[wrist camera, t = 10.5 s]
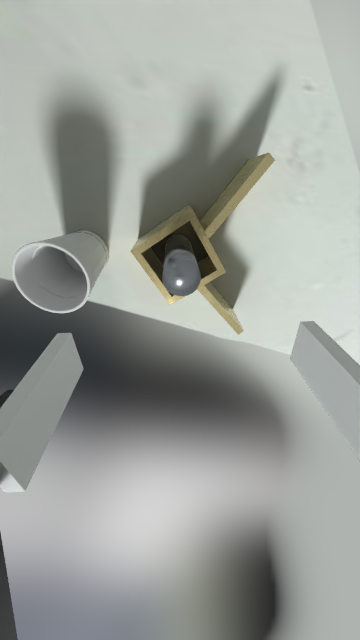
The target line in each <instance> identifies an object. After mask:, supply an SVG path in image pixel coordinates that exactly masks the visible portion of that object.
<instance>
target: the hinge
mask: <svg viewBox="0 0 360 640" xmlns="http://www.w3.org/2000/svg"><path fill="white" fill-rule="evenodd" d="M274 161H275V159H274V158H273V157H272V156H271V155H270V153H266V154H263V155H260V156H257V157H254V158H251V159H249V160H248V161H247V162H246V163H245V165H244V166H243V167H242V169H241V170H240V171H239V172H238V174H237V175H236V176H235V177H234V179H233V180H232V181H231V183H230V184H229V185H228V186H227V188H226V189H225V190H224V191H223V193H222V194H221V195H220V197H219V198H218V199H217V200H216V202H215V203H214V204H213V205H212V207H211V208H210V209H209V211H208V212H207V213H206V214H205V216H204V217H203V218H202V220H201V221H200V222H199V220H198V219H197V217H196V215H195V213H194V211H193V209H192V208H191V207H190V206H189V205H187V206H185V207H184V208H182V209H181V210H180V211H178V212H177V213H175V214H174V215H172V216H171V217H169V218H168V219H167V220H165V221H164V222H162V223H161V224H159V225H158V226H157V227H155V228H154V229H152V230H151V231H149V232H148V233H147V234H145V235H144V236H142V237H141V238H139V239H138V240H137V242H136V243H135V245H134V247H133V248H132V250H131V252H132V254H133V255H134V257H135V258H136V259H137V261H138V262H139V263H140V265H141V266H142V267H143V269H144V270H145V272H146V273H147V274H148V276H149V277H150V278H151V280H152V281H153V282H154V284H155V285H156V287H157V288H158V289H159V291H160V292H161V293H162V295H163V296H164V297H165V299H166V300H167V302H168V303H169V304H170V305H171V304H172V303H174V302H176V301H178V300H179V299H181V298H183V297H185V296H176V295H173V294H171V293H170V292H169V291H167V289H166V288H165V287H164V284H163V280H162V276H163V265H162V264H161V262H160V261H159V259H158V258H157V256H156V255H155V253H154V252H153V250H152V249H151V246H153V245H154V244H156V243H157V242H159V241H160V240H162V239H163V238H165V237H166V236H168V235H169V234H171V233H172V232H174V231H175V230H176V229H178V228H179V227H181V226H182V225H184V224H185V223H187V222H188V221H190V222H191V224H192V226H193V228H194V230H195V231H196V233H197V235H198V237H199V239H200V240H201V242H202V244H203V246H204V248H205V249H206V251H207V253H208V255H209V256H208V257H207V258H205V259H203V260H202V261H200V262H198V263H197V265H198V268H199V271H200V274H201V281H200V284H199V286H198V288H197V289H198V290H199V292H200V293H201V294H202V295H203V296H204V297H205V298H206V299H207V300H208V302H209V303H210V304H211V305H212V306H213V307H214V308H215V309H216V310H217V312H218V313H219V314H220V315H221V316H222V317H223V318H224V319H225V320H226V322H227V323H228V324H229V325H230V326H231V327H232V328H233V329H234V330H235V332H236V333H237V334H240V333H241V332H243V331H244V330H243V328H242V326H241V324H240V322H239V320H238V318H237V316H236V314H235V312H234V310H233V309H232V307H231V306H230V305H229V304H228V303H227V302H226V300H225V299H224V298H223V297H222V296H221V295H220V293H219V292H218V291H217V290H216V289H215V288H214V286H213V285H212V284H211V283H210V281H212V280H214V279H216V278H217V277H219V276H221V275H222V274H224V273H226V271H225V269H224V267H223V265H222V263H221V261H220V259H219V258H218V256H217V254H216V252H215V250H214V248H213V246H212V245H211V243H210V241H209V239H208V238H210V237H211V236H212V235H213V234H214V233H215V231H216V230H217V229H218V228H219V227H220V225H221V224H222V223H223V222H224V221H225V219H226V218H227V217H228V216H229V215H230V213H231V212H232V211H233V210H234V209H235V207H236V206H237V205H238V204H239V203H240V201H241V200H242V199H243V198H244V197H245V195H246V194H247V193H248V192H249V191H250V189H251V188H252V187H253V186H254V185H255V183H256V182H257V181H258V180H259V179H260V177H261V176H262V175H263V174H264V173H265V171H266V170H267V169H268V168H269V167H270V165H271V164H272V163H273V162H274ZM197 289H196V290H197Z"/></svg>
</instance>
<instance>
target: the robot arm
mask: <svg viewBox="0 0 360 640" xmlns="http://www.w3.org/2000/svg"><path fill="white" fill-rule="evenodd" d="M290 359H291V361H292V362H293V364H294V365H295V367H296V368H297V370H298V371H299V373H300V374H301V375H302V377H303V378H304V380H305V381H306V383H307V384H308V386H309V387H310V389H311V390H312V391H313V393H314V395H315V396H316V398H317V399H318V400H319V402H320V403H321V405H322V406H323V408H324V409H325V411H326V412H327V414H328V415H329V417H330V418H331V419H332V421H333V422H334V424H335V425H336V427H337V428H338V430H339V431H340V433H341V434H342V436H343V437H344V438H345V440H346V441H347V443H348V444H349V446H350V447H351V449H352V450H353V452H354V453H355V455H356V456H357V457H358V459H359V461H360V365H359V364H358V363H357V362H356V361H355V360H354V359H352V358H351V357H350V356H349V355H348V354H347V353H346V352H345V351H344V350H343V349H342V348H341V347H340V346H339V345H338V344H337V343H336V342H335V341H334V340H333V339H332V338H331V337H330V336H329V335H327V334H326V333H325V332H324V331H323V330H322V329H321V328H320V327H319V326H318V325H317V324H316V323H315V322H314V321H308V322H300V325H299V329H298V332H297V336H296V339H295V343H294V346H293V350H292V354H291V357H290ZM82 371H83V367H82V363H81V360H80V357H79V355H78V352H77V349H76V346H75V343H74V340H73V337H72V334H71V333H58V334H57V335H56V336H55V337H54V339H53V340H52V341H51V343H50V344H49V345H48V347H47V348H46V349H45V350H44V352H43V353H42V354H41V356H40V357H39V359H38V360H37V361H36V362H35V364H34V365H33V366H32V368H31V369H30V370H29V371H28V373H27V374H26V375H25V377H24V378H23V379H22V381H21V382H20V383H19V385H18V386H17V387H16V389H15V390H7V391H6V392H4V393H3V394H2V395H1V396H0V488H1V489H2V490H3V491H4V492H20V491H25V490H26V488H27V486H28V484H29V482H30V480H31V478H32V475H33V474H34V471H35V469H36V467H37V465H38V463H39V461H40V459H41V457H42V455H43V453H44V451H45V448H46V446H47V444H48V442H49V440H50V438H51V436H52V433H53V432H54V430H55V427H56V425H57V423H58V421H59V419H60V417H61V415H62V413H63V411H64V409H65V407H66V404H67V402H68V400H69V398H70V396H71V394H72V392H73V390H74V387H75V385H76V383H77V381H78V379H79V377H80V375H81V373H82ZM0 640H17V633H16V627H15V620H14V614H13V608H12V602H11V595H10V589H9V583H8V577H7V571H6V564H5V558H4V552H3V546H2V540H1V533H0Z"/></svg>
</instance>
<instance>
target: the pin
mask: <svg viewBox="0 0 360 640" xmlns="http://www.w3.org/2000/svg"><path fill="white" fill-rule="evenodd" d="M162 280H163V284H164V287H165V288H166V289H167V291H169V292H170V293H171V294H173V295H176V296H187V295H189V294H191V293H193V292H194V291H195V290H196V289H197V288H198V286H199V284H200V281H201V274H200V271H199V268H198V265H197V261H196V258H195V255H194V252H193V249H192V246H191V243H190V241H189V240H188V239H187V238H186V237H185V236H182V235H175V236H173V237H171V238H170V239H169V240H168V241H167V243H166V247H165V257H164V266H163V276H162Z"/></svg>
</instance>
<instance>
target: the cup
mask: <svg viewBox="0 0 360 640" xmlns="http://www.w3.org/2000/svg"><path fill="white" fill-rule="evenodd" d="M108 258H109V253H108V248H107V246H106V244H105V242H104V241H103V240H102V239H101V238H100V237H99V236H98V235H97V234H95V233H93V232H91V231H86V230H80V231H76V232H74V233H71V234H67V235H63V236H59V237H56V238H52V239H47V240H43V241H38V242H34V243H30V244H27V245H25V246H23V247H22V248H20V249H19V250H18V251H17V253H16V254H15V256H14V258H13V261H12V266H11V271H12V276H13V280H14V282H15V284H16V286H17V288H18V290H19V291H20V292H21V294H22V295H23V296H24V297H25V298H26V299H27V300H28V301H30V302H31V303H32V304H34V305H36V306H37V307H39V308H41V309H43V310H46V311H49V312H54V313H68V312H72V311H75V310H77V309H79V308H80V307H81V306H82V305H83V304H84V303H85V302H86V301H87V299H88V297H89V295H90V293H91V291H92V289H93V287H94V284H95V282H96V280H97V278H98V276H99V274H100V273H101V271H102V269H103V268H104V267H105V266H106V264H107V262H108Z"/></svg>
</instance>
